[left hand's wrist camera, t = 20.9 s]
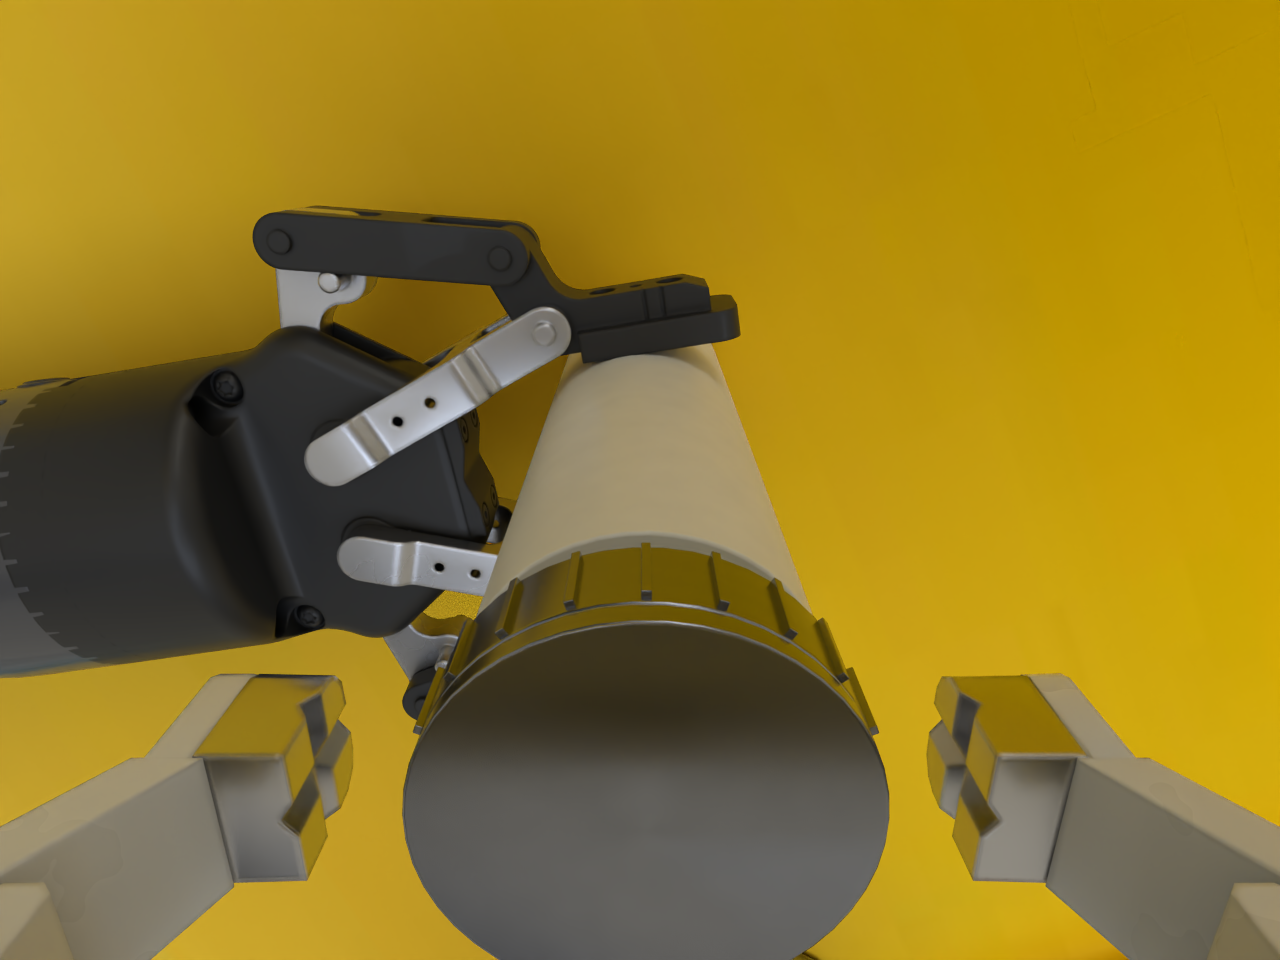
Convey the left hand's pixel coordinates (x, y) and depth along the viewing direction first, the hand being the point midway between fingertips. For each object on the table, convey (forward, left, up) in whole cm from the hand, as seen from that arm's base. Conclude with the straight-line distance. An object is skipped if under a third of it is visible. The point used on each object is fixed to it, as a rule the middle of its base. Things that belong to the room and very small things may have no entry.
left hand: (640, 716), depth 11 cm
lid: (0, 0, +2) cm, 2 cm away
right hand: (+1, +3, -11) cm, 11 cm away
